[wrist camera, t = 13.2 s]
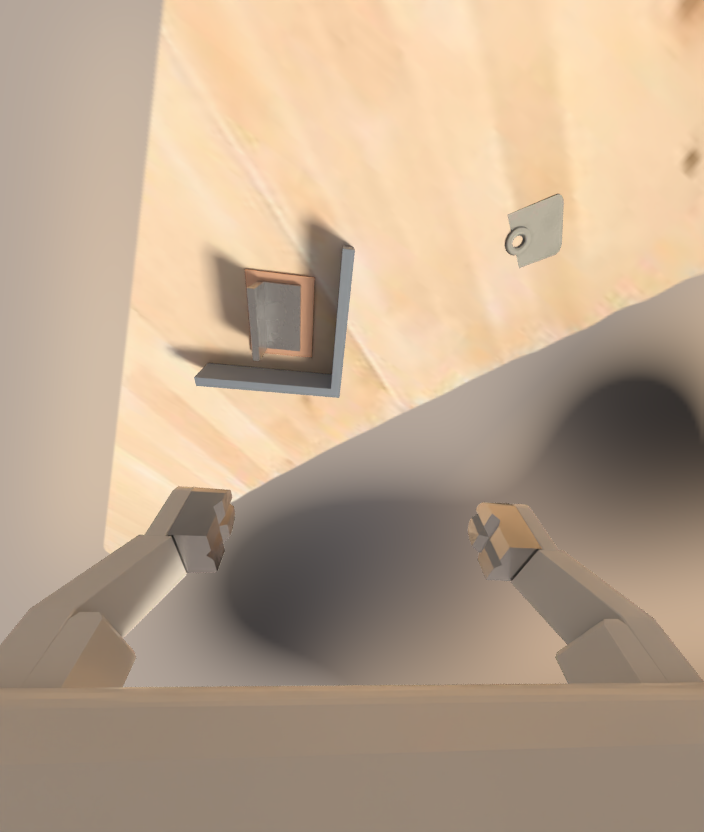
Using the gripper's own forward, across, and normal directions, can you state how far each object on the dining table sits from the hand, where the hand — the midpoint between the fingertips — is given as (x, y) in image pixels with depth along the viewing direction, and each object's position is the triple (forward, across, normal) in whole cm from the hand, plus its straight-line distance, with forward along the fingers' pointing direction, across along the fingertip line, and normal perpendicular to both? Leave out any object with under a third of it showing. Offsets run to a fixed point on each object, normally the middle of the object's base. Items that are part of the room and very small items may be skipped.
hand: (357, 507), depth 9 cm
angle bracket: (+31, +8, +3) cm, 32 cm away
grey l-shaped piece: (+31, +9, +3) cm, 32 cm away
